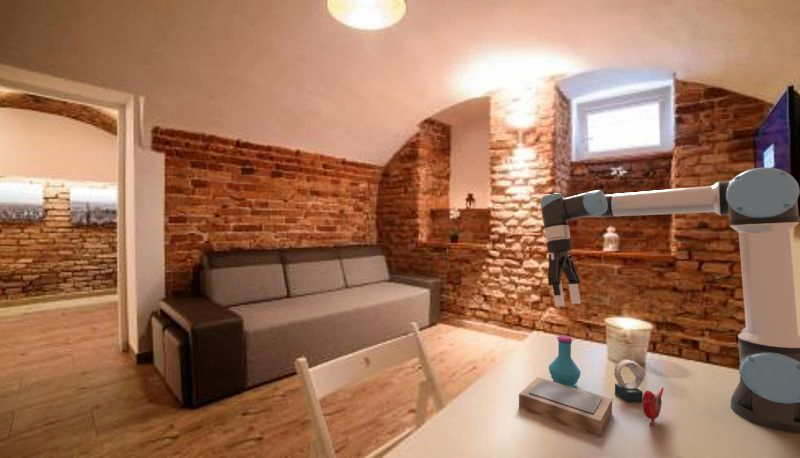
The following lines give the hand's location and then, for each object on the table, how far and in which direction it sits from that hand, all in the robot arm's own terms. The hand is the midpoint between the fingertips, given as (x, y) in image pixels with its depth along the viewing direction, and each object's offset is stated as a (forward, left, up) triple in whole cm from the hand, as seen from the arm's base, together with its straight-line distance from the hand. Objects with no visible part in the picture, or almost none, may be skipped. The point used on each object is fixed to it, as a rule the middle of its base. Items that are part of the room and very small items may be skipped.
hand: (568, 305), depth 114 cm
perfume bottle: (0, +2, -25) cm, 25 cm away
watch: (-17, -1, -25) cm, 30 cm away
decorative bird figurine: (-24, +9, -25) cm, 36 cm away
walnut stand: (-5, +19, -25) cm, 32 cm away
